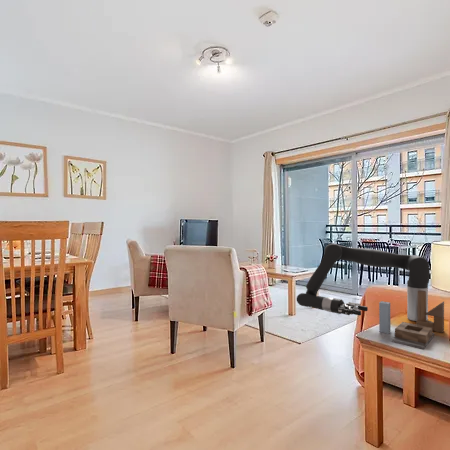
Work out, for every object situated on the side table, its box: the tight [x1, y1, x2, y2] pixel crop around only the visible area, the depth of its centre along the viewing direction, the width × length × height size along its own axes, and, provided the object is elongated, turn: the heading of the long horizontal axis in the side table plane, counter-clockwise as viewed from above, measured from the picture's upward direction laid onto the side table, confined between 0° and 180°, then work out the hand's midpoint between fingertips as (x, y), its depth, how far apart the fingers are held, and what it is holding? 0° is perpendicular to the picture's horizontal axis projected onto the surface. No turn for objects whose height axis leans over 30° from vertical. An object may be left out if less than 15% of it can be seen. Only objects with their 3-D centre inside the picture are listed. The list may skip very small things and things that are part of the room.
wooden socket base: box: [391, 321, 435, 350], centre depth 142 cm, size 20×12×4 cm, turn 136°
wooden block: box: [415, 290, 445, 334], centre depth 152 cm, size 4×11×18 cm, turn 45°
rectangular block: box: [378, 300, 392, 334], centre depth 150 cm, size 3×4×14 cm
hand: (364, 311), depth 157 cm, fingers open, 8 cm apart
